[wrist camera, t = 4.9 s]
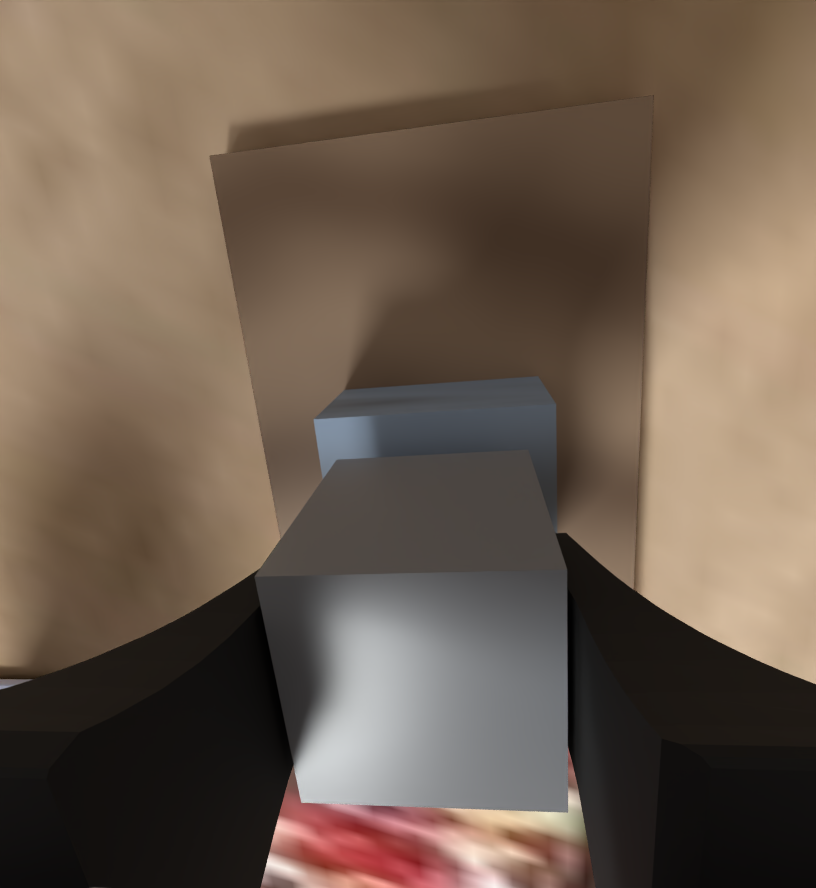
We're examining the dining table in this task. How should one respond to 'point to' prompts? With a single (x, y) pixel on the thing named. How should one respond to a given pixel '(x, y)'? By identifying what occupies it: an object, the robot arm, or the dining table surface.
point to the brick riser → (453, 303)
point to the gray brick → (423, 635)
